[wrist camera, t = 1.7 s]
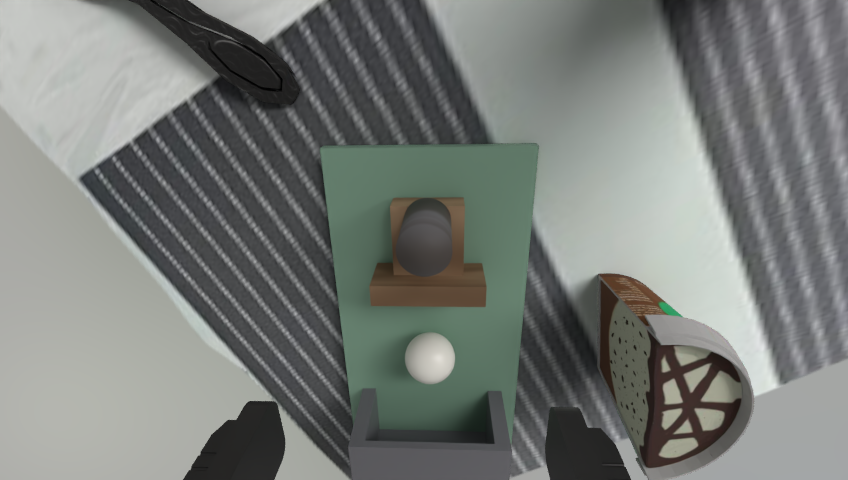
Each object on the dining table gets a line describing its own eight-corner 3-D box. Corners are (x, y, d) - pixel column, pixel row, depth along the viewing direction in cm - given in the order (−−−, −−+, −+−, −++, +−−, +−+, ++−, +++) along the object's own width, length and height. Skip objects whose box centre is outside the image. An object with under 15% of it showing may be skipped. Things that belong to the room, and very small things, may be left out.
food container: (669, 374, 35) (748, 481, 26) (597, 380, 36) (649, 487, 27) (681, 247, 31) (783, 324, 21) (598, 257, 31) (662, 336, 22)
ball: (406, 321, 33) (401, 353, 30) (454, 322, 33) (456, 354, 29) (408, 360, 35) (403, 395, 31) (454, 361, 35) (455, 396, 31)
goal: (363, 388, 36) (348, 446, 31) (501, 391, 36) (511, 451, 30) (368, 437, 39) (355, 500, 33) (497, 441, 38) (506, 505, 32)
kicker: (372, 189, 29) (351, 224, 22) (485, 189, 28) (497, 224, 22) (378, 281, 31) (361, 335, 25) (481, 281, 31) (490, 337, 25)
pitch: (323, 145, 29) (319, 148, 28) (535, 143, 28) (538, 145, 27) (357, 431, 40) (354, 439, 39) (509, 435, 39) (511, 444, 38)
